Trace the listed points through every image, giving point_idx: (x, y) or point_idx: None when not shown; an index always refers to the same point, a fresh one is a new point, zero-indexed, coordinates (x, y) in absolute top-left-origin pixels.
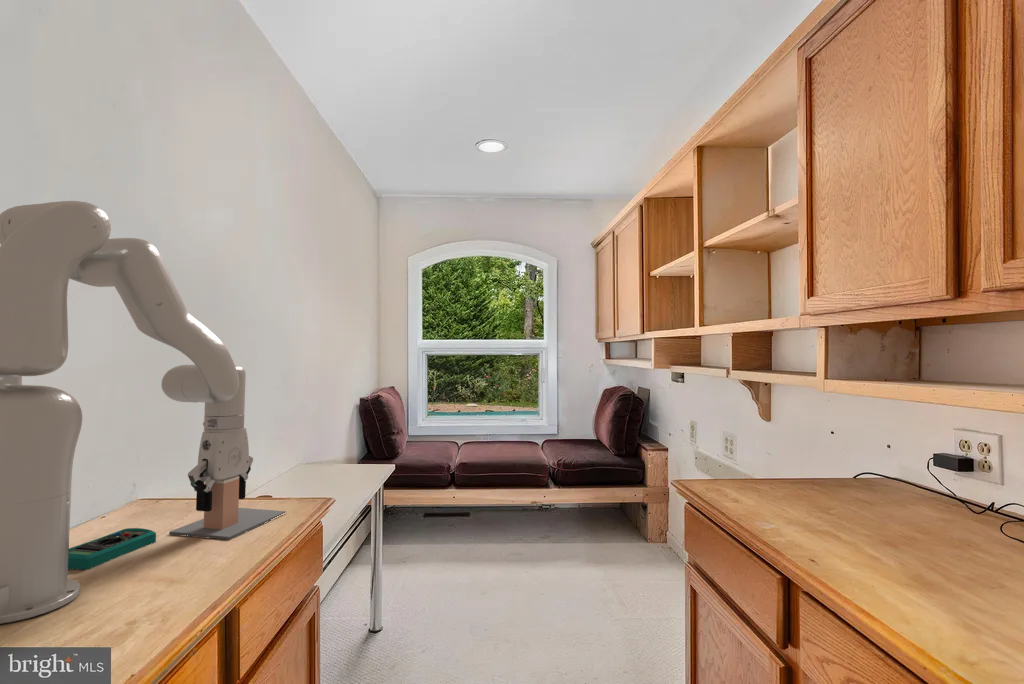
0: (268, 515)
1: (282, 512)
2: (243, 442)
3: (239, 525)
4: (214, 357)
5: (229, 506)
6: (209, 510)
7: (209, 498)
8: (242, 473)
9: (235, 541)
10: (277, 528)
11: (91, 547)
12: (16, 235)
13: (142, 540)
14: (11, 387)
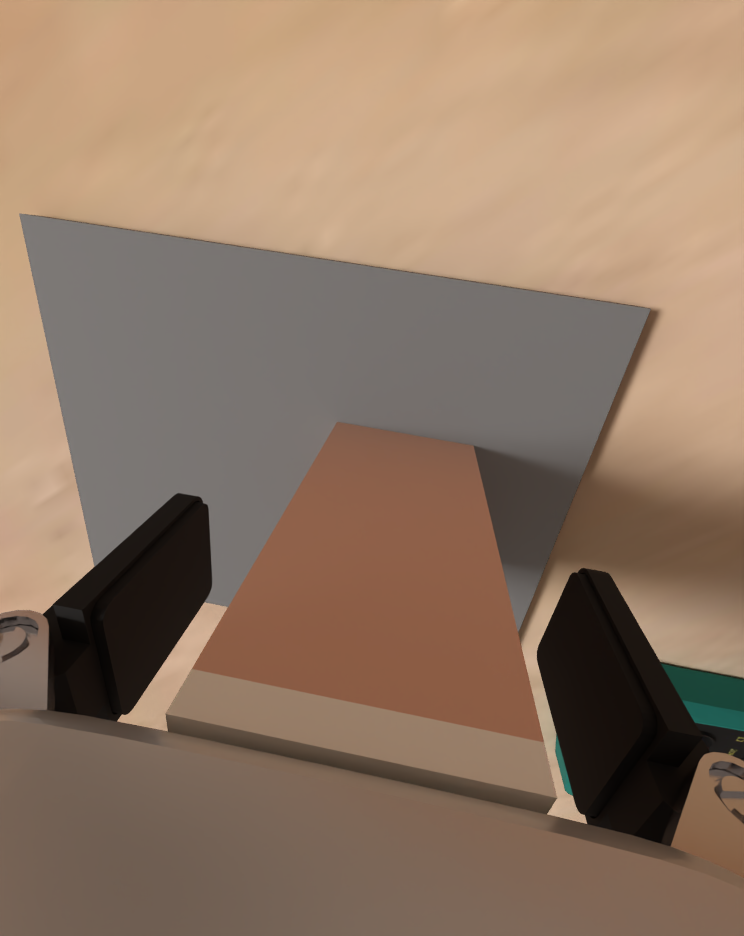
0: (150, 299)
1: (53, 226)
2: None
3: (389, 381)
4: None
5: (413, 500)
6: (608, 573)
7: (657, 665)
8: (91, 724)
9: (679, 241)
10: (364, 51)
11: None
12: None
13: (701, 695)
14: None
